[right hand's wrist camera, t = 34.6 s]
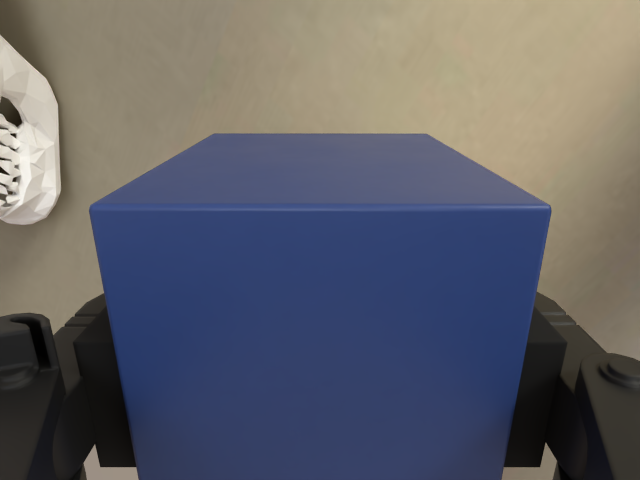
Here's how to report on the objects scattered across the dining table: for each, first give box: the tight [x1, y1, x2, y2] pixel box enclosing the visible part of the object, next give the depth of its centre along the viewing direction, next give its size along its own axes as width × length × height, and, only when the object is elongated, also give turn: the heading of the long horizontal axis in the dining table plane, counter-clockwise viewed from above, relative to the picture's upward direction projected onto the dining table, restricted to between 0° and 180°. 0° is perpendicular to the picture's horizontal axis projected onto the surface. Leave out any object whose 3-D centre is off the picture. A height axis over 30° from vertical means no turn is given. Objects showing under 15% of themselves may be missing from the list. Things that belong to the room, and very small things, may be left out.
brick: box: [89, 134, 551, 480], centre depth 11 cm, size 7×7×8 cm
